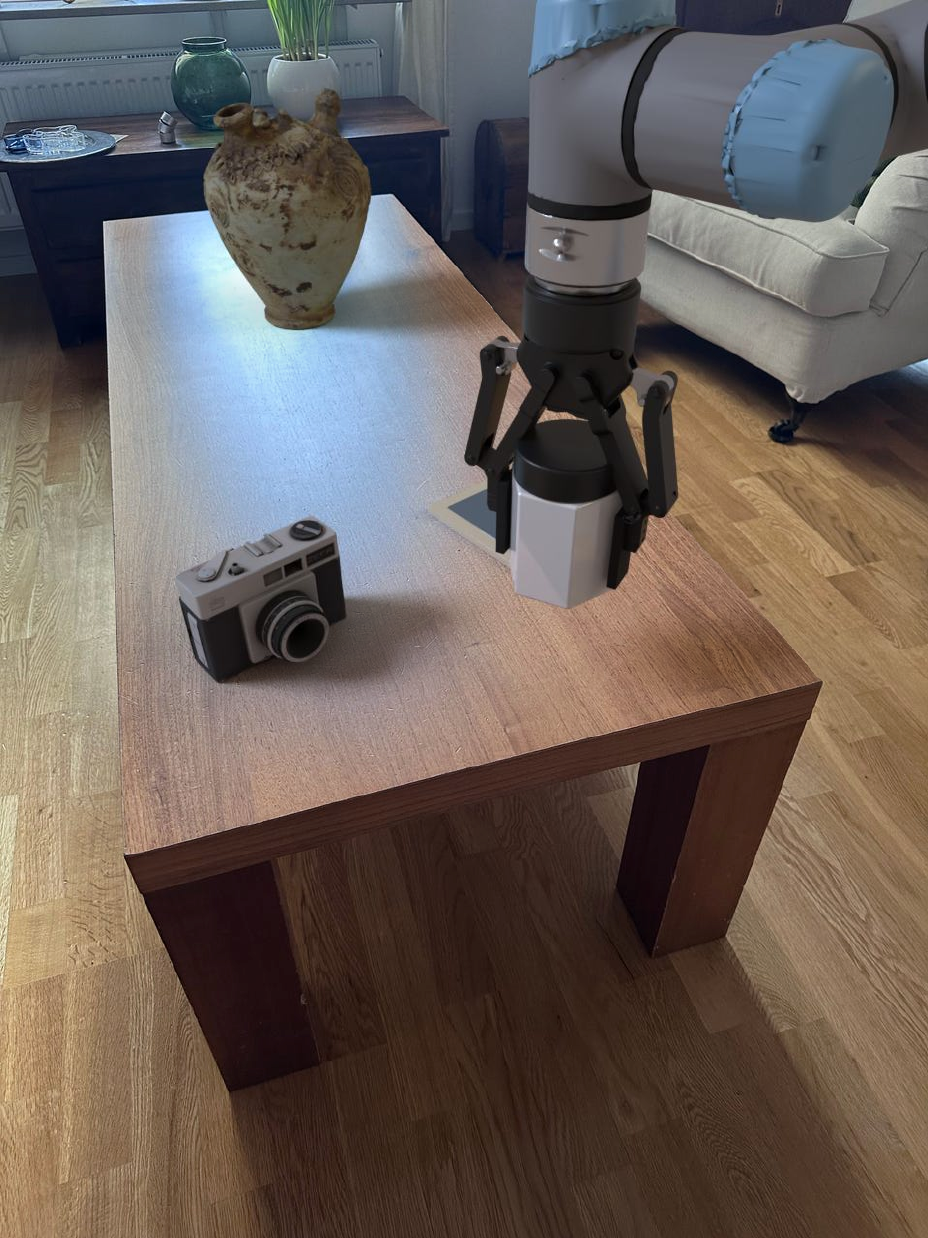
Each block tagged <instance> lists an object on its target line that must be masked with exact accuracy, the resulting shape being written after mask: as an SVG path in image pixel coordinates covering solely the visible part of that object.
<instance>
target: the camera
mask: <svg viewBox="0 0 928 1238" xmlns="http://www.w3.org/2000/svg"><path fill="white" fill-rule="evenodd" d="M262 536H263V538H261V539H259V540H258V541H255V542H250V541H246V542H244V543H243V545H241V546H238V547H236V548H235V547H230V548H228V549H224V550H221V551H219V552H217V553H216V554H214V556H212V558H210V559H209V560H207V561H204V562H202V563H200V564H197V565H195V566H193V567H191V568H188V569H186V570H184V571H181V572H179V573H178V574H177V575H176V576H175V577H174V579H175V582H176V583H175V584H176V586H177V589H178V593H179V596H178V603H179V605H180V610H181V613H182V617H183V621H184V624H185V628H186V631H187V636H188V639H189V642H190V646H191V650H192V653H193V657H194V659H195V660H196V663H197V664H198V665H199V666H200V667H201V668H202V669H203V670H204V671H205V672H206V673H207V674H208V675H209V676H210V677H211V678H212V679H213V680H214V681H215V682H216V683H218V684H221V683H223V682H224V681H227V680H228V679H231V678H232V677H234V676H236V675H238V674H240V673H242V672H244V671H246V670H248V669H250V668H252V667H254V666H255V665H257V664H259V663H262V662H264V661H267V660H268V659H269V658H271V657H273V656H276V657H277V658H279V659H283V660H284V661H286V662H288V663H301V662H302V663H303V662H305V661H308V660H309V659H311V658H312V657H315V656H316V655H317V654H318V653H319V652H320V651H321V650H322V648H323V647H324V646H325V644H326V642H327V640H328V638H329V634H330V627H331V626H333V625H335V624H336V623H339V622H340V621H342V620H344V619H346V618H347V609H346V602H345V601H346V599H345V593H344V583H343V576H342V567H341V555H340V551H339V550H340V549H339V542H338V535H337V532H336V531H335V530H334V529H333V528H331V527H330V526H328V525H327V524H326V523H324V522H323V521H321V520H320V519H318V518H317V517H316V516H315V515H308V516H306V517H304V518H301V519H300V520H297V521H295V522H292V523H290V524H288V525H286V526H282V527H281V528H279V529H277V530H274V531H272V532H270V533H264V534H263V535H262Z"/></svg>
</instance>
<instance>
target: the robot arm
mask: <svg viewBox="0 0 928 1238" xmlns="http://www.w3.org/2000/svg"><path fill="white" fill-rule="evenodd" d="M534 13H535V14H534V23H533V36H532V44H531V45H532V46H531V56H530V65H529V67H528V70H527V73H528V74H527V78H528V79H529V121H528V122H529V125H528V127H529V133H528V135H529V137H528V138H529V139H528V142H529V144H528V145H529V146H528V147H529V148H528V154H529V155H528V183H527V193H526V195H527V196H526V217H525V218H526V221H525V245H524V267H525V269H526V271H527V272H528V273H529V274H528V275H527V277H526V278H525V279H524V281H523V290H522V291H523V292H522V315H521V316H522V318H521V319H522V320H521V322H522V323H521V330H522V333H523V335H522V339H521V341H520V342H511V341H510V340H509V338H508V337H507V336H505V335H499V336H497V337H496V338H494V339H493V340H491V341H490V342H489V343H487V344H486V345H485V346H484V347H482V348H481V349H480V350H479V362H480V371H481V380H480V386H479V390H478V394H477V398H476V403H475V408H474V411H473V416H472V420H471V424H470V429H469V433H468V437H467V442H466V446H465V450H464V455H463V460H464V462H465V463H466V465H468V466H470V467H475V466H477V467H479V468H480V469H481V470H483V472H484V475H485V476H486V478H487V479H486V480H487V505H488V508H489V510H491V511H494V512H496V550H495V552H497V553H500V554H503V555H504V554H505V553H506V551H507V550H508V549H509V548H510V518H511V487H512V467H511V466H512V464H513V463H514V443H515V440H516V439H519V440H521V439H522V438H523V437H524V436H525V435H526V434H527V433H528V432H529V431H530V430H532V429H533V428H534V427H535V425H536V424H537V423H539V420H540V419H541V417H542V416H543V414H544V412H545V411H548V412H553V413H558V414H559V413H566V414H569V415H571V416H573V417H575V418H576V419H580V420H584V421H588V423H589V425H590V428H591V431H592V433H593V434H594V435H597V437H598V439H599V442H600V444H601V447H602V450H603V452H604V455H605V458H606V460H607V463H611V464H612V465H613V472H612V477H613V479H614V482H615V485H616V487H617V490H618V493H619V495H620V498H621V501H622V504H623V506H622V508H621V509H620V510H619V511H618V513H617V514H616V515H615V518H614V527H613V535H612V543H611V552H610V560H609V568H608V577H607V585H606V587H607V588H610V589H612V590H613V591H616V590H617V588H618V587H619V585H621V583H622V581H624V579H625V577H626V576H627V575H628V573H629V570H630V562H631V554H632V553H633V554H637V552H638V551H639V549H640V547H642V545H643V544H644V542H645V541H646V538H647V533H648V525H649V518H650V516H653V517H655V518H657V519H664V518H665V517H667V515H668V513H669V512H670V510H671V509H672V508H673V507H674V505H675V504H676V502H677V501H678V499H679V486H678V473H677V460H676V447H675V446H676V445H675V436H674V435H675V434H674V423H673V410H672V409H673V408H672V403H673V400H674V396H675V392H676V389H677V386H678V382H679V378H678V375H677V373H676V372H675V371H673V370H665V371H663V372H662V373H661V374H658V373H656V372H653V371H650V370H647V369H644V368H641V367H639V363H638V360H637V358H636V355H635V341H636V336H637V328H638V327H637V326H638V320H639V319H638V318H639V311H640V310H639V309H640V303H641V302H640V301H641V294H642V284H641V282H640V281H639V279H638V277H640V276H641V274H642V273H643V272H644V270H645V269H644V268H645V259H646V252H647V251H646V250H647V242H648V232H649V223H650V215H651V206H652V200H653V199H652V198H653V192H654V191H658V192H663V193H666V194H671V195H675V196H679V197H684V198H687V199H693V200H696V201H701V202H704V203H709V204H713V205H716V206H717V205H718V206H721V207H726V208H730V209H734V210H739V211H743V212H746V213H747V214H749V215H752V216H757V218H761V219H764V220H773V221H774V220H777V219H784V220H791V221H801V222H805V223H823V222H827V221H830V220H832V219H834V218H836V217H838V216H839V215H841V214H842V213H844V212H845V211H846V210H847V209H848V208H849V207H850V206H851V204H852V202H853V200H854V198H855V196H856V195H860V193H862V192H863V190H864V189H865V187H866V186H867V184H868V183H869V181H870V179H871V177H872V175H873V173H874V171H875V169H876V168H877V164H878V162H881V161H885V160H889V159H893V158H897V157H902V156H906V155H910V154H914V153H917V152H921V151H925V150H928V0H908V1H905V2H903V3H900V4H898V5H895V6H892V7H890V8H889V7H888V8H886V9H884V10H881V11H879V12H875V13H872V14H870V15H866V16H862V17H858V18H855V19H852V20H847V21H844V22H833V23H829V24H825V25H820V26H815V27H809V28H804V29H798V30H791V31H786V32H782V33H778V34H777V33H776V34H771V35H770V34H769V35H749V34H733V33H719V32H706V31H705V32H704V31H696V30H693V29H686V28H684V27H680V26H676V25H677V24H676V23H677V14H676V0H537V1H536V5H535V12H534ZM517 364H518V365H519V367H520V369H521V371H522V372H523V374H524V376H525V378H526V380H527V381H528V383H529V385H530V388H529V390H528V392H527V394H526V395H525V396H524V399H523V401H522V402H521V404H520V406H519V407H518V409H519V410H518V412H517V413H516V415H515V417H514V418H513V420H512V422H511V423H510V424H509V427H508V428H507V430H506V431H505V433H504V435H503V437H502V439H501V440H500V442H499V444H498V445H497V447H496V448H494V443H495V440H496V436H497V432H498V429H499V425H500V420H501V418H502V417H501V416H502V413H503V409H504V405H505V401H506V396H507V393H508V389H509V385H510V381H511V376H512V372H513V371H514V370H515V369H516V368H517V366H518V365H517ZM629 387H631V388H633V390H634V391H635V393H636V400H637V405H638V406H639V407H640V408H642V414H641V427H642V428H641V429H642V437H643V439H642V440H643V447H644V458H645V467H646V470H645V468H644V466H643V463H642V460H641V457H640V455H639V452H638V451H639V450H638V448H637V446H636V444H635V439H634V438H633V435H632V431H631V429H630V425H629V423H628V420H627V407H626V405H625V402H624V399H623V396H622V394H623V393H624V392H625V391H626V390H627V389H628V388H629ZM510 467H511V468H510Z"/></svg>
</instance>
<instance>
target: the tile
mask: <svg viewBox="0 0 928 1238" xmlns="http://www.w3.org/2000/svg"><path fill="white" fill-rule="evenodd" d="M427 514H428V515H430V516H431V517H433V519H434V518H435V519H436V520H437V521H439V522H440V523H442V524H443V525H445V526H446V527H448V528H449V529H451V530H452V531H454V532H455V533H456V534H459V536H461V537H463V538H464V539H465V540H467V541H469V542H470V543H471V544H473V545H474V546H476V547H477V548H479V549H480V550H481V551H482V552H484V553H486V554H487V555H489V556H490V557H492V558H493V559H495V560H496V561H498V562H500V563H501V564H502V565H504V566H505V567H507V568H508V569H510V570H511V568H510V562H509V549H510V548H509V549H508V550H507V551H506V553H505V554H504V555H503V554H500V553H497V552H495V550H496V512H494V511H491V510H489V508H488V505H487V479H486V480H483V481H482V482H478V483H477V484H475V485H472V486H471V487H468V488H466V489H464V490H462V491H459V492H457V493H455V494H452V495H450V496H449V497H447V498H444V499H442V500H440V501H437V502H435V503H433V504H431V505H429V506H427Z"/></svg>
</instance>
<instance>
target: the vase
mask: <svg viewBox="0 0 928 1238" xmlns="http://www.w3.org/2000/svg"><path fill="white" fill-rule="evenodd" d="M314 109H315V110H314V113H313V114H312V116H311V117H310V119H309V120H304V119H303V120H302V119H301V120H300V119H298V118H296V117H295V116H294V117H292V116H290V114H289V113H288V112H287V111H286V110H285V109H283V108H280V109H279V111H278V112H277V113H276V114H275V116H274V117H273V118H271V117H270V115H269V114H268V111H267V110H266V109H265V108H264V109H263V108H254V106H253V105H251V104H250V103H247V102H238V103H232V104H228V105H227V106H225V107H222V108H220V109H219V110H218V111H216V113H215V114H214V116H213V118H212V119H213V124H214V125H215V126H216V127H218V128H219V129H221V130H222V131H223V132H224V135H223V140H222V141H221V142H220V141H219V142H217V143H216V144H215V146H214V151H215V152H213V153H212V155H211V157H210V160H209V161H208V164H207V166H206V167H205V171H204V174H203V177H202V178H203V180H204V181H203V196H204V202H205V204H206V206H207V209H208V212H209V215H210V218H211V220H212V223H213V225H214V227H215V229H216V231H217V233H218V235H219V237H220V240H221V242H222V243H223V246H224V247H225V249H226V251H227V252H228V254H229V256H230V258H231V259H232V260H233V262H234V264H235V265H236V267H237V268H238V270H239V271H240V272H241V274H242V276H243V277H244V278H245V280H246V281H247V283H248V284H249V286H251V288H252V289H253V290H254V292H255V293H256V294H257V296H258V298H259V299H260V300H261V302H262V303H263V304H264V306H265V307H264V309H263V313H264V319H265V320H266V321H267V322H268V323H269V324H270V325H272V326H274V327H277V328H282V329H289V330H304V329H311V328H315V327H319V326H323V325H325V324H327V323H328V322H330V321H331V320H333V319H334V317H335V315H336V307H335V301H336V298H337V297H338V295H339V293H340V291H341V289H342V287H343V285H344V283H345V281H346V279H347V277H348V275H349V273H350V271H351V269H352V267H353V264H354V262H355V260H356V257H357V255H358V252H359V250H360V247H361V246H360V245H361V241H362V239H363V235H364V233H365V228H366V224H367V220H368V215H369V210H370V205H371V203H372V201H371V200H372V186H371V178H370V173H369V169H368V168H369V167H368V166H367V165H365V164H364V162H363V160H362V158H361V156H360V155H359V153H358V152H357V151H356V150H355V148H353V147H352V145H351V143H350V142H349V138H345V136H342V135H341V134H340V131H339V129H338V123H337V120H338V117H339V115H340V113H341V111H342V103H341V99H340V96H339V94H338V92H337V91H336V90H334V89H331V88H327V87H325V88H322V89H320V90H319V92H318V93H317V94H316V95H315V98H314Z"/></svg>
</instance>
